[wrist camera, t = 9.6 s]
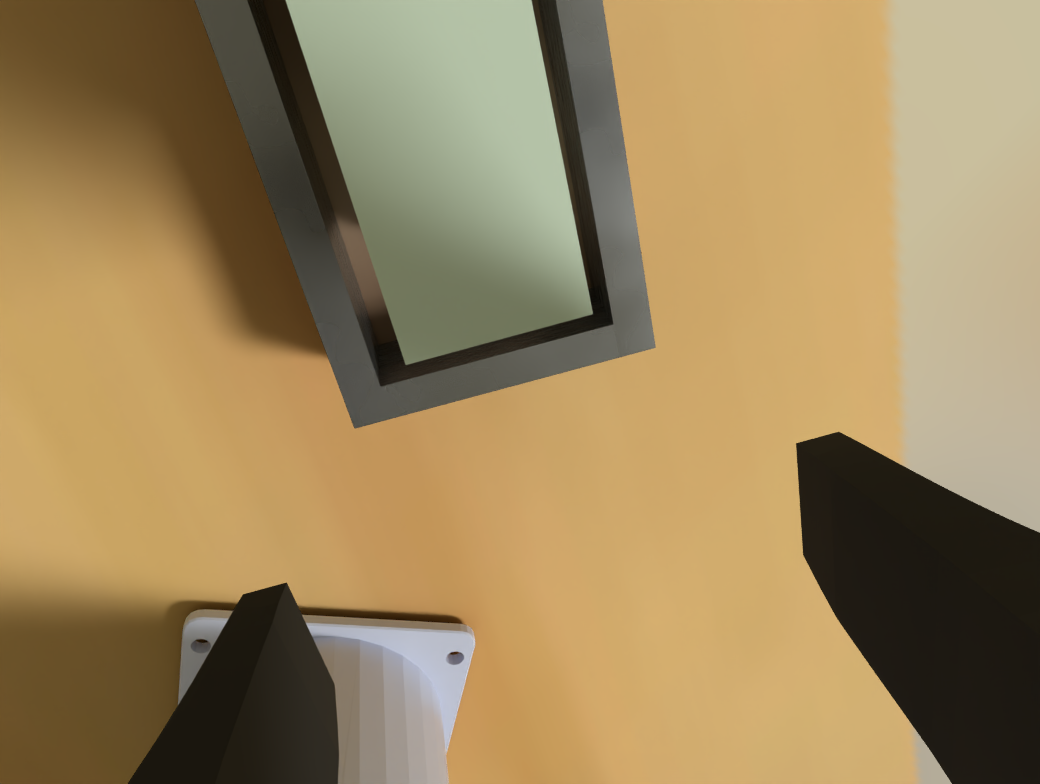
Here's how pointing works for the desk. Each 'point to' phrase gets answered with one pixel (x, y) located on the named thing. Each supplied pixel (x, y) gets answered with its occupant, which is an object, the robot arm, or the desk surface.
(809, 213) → the desk surface
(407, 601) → the desk surface
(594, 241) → the grey rectangular tray
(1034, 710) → the robot arm
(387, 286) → the pale green rectangular block
